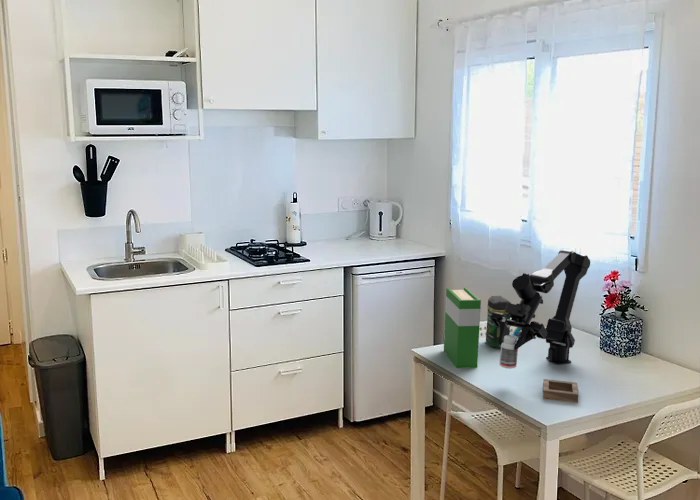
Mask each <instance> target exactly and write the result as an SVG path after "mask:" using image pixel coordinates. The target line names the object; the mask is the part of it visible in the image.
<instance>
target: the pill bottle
mask: <svg viewBox="0 0 700 500" xmlns="http://www.w3.org/2000/svg"><path fill="white" fill-rule="evenodd" d="M517 340H518V338H517V336H516V335H511V334H510V335H506V336H504V342H503V343H502V344H501V348H500V352H499V353H500V354H499V366H500V367H502V368H504V369H511V370H512V369H515V368H516V367H517V364H518V351H519V348H518V349H517V350H515V349H514V346H515V344H516V342H517Z"/></svg>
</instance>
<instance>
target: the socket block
mask: <svg viewBox="0 0 700 500" xmlns="http://www.w3.org/2000/svg"><path fill="white" fill-rule="evenodd" d="M578 387H579V386H578V382H577V381H569V380H567V381H566V380H558V379H548V378H543V383H542V399H543V400H550V401H559V402H568V403H576V404H577V403H579V388H578Z"/></svg>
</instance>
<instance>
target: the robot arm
mask: <svg viewBox="0 0 700 500" xmlns="http://www.w3.org/2000/svg"><path fill="white" fill-rule="evenodd" d="M590 266H591V259H590V258H589V257H588V255H586V254H579V253H577V252H575V251H573V250H570V249H560V250H559V251H558V254H556V256H555V257H554V258H553V259H552V260H550V262H549V263H547V265H546V266H545V267H544V268H542V269H539V270H535V271H534V272H533V273H531V274H529V273H525V272H523V273H522V275H519V276H516V277H515V279H513V281H512V283H511V285H512V288H513V289H514V291H515V293H516V294H517V296H518V298H520V301H519V303H516V304H515V303H512V302H511V303H507V306H506V309H505V313H506V312H507V313H509V317H510V319H507V318H506V317H505V315H504V314H502V313H498V312H493V313H492V314H491V316H490V319H491V320H492V322H493V323H494V325H495V326H496V327H499V328H500V336H499V345H500V346H501V344H502V343H503V342H504V336H506V335H509V333H510V334H511V329H510V330H509V328H508V327H509V325H510V327H514V328H517V327H518V328H521V329H522V330H520V334H519V336H518V338H517V341H516V344H515V346H514V349H515V350H517V349H518V350H519V349H520V348H521V347H523V345H525V344H526V343H528V342H530V341H531V340H536V339H541V340H542V339H543V340H545V343H547V344H549V347H548V349H547V352H548V353H547V356H546V358H545V359H547V360H548V361H549V362H552V363H553V364H555V365H561V364H562V365H563V364H570V363H572V360H570V348H571V349H572V348H573V347H574V345H575V343H576V342H575V341H576V339H575V337H574V336H573V333H572V324H571V321H570V320H571V319H570V318H571V313H572V310H573V307H574V302H575V298H576V296H577V291H578V288H579V284H580V281H581V279H582V278H584V277H585V276H586V275H587V273H588V270H589V268H590ZM563 271H564V274H565V278H564V281H563V285H562V289H561V293H560V296H559V301H558V304H557V307H556V311H555V312H556V313H555V315H554V316H553V317H552V318H548V320H547V325H546V327H545V325H544V324H543V323H542V322H538V321H534V320H532V319H535V318H536V312H537V309H538V307H539V306H540V305H543V304H544V300H543V295H541V294H540V293H543V294H549V292H551V290H552V288H553V287H554V286H555V283H554V281H555V279H556V278H557V277H558V276H560V274H561V273H562V272H563Z"/></svg>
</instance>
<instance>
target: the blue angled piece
mask: <svg viewBox="0 0 700 500" xmlns="http://www.w3.org/2000/svg"><path fill="white" fill-rule="evenodd" d="M521 331H522V329H521V328H518V327H515V329H514V332H513V336H516V335H517V334H518V333H519V332H521Z"/></svg>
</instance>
